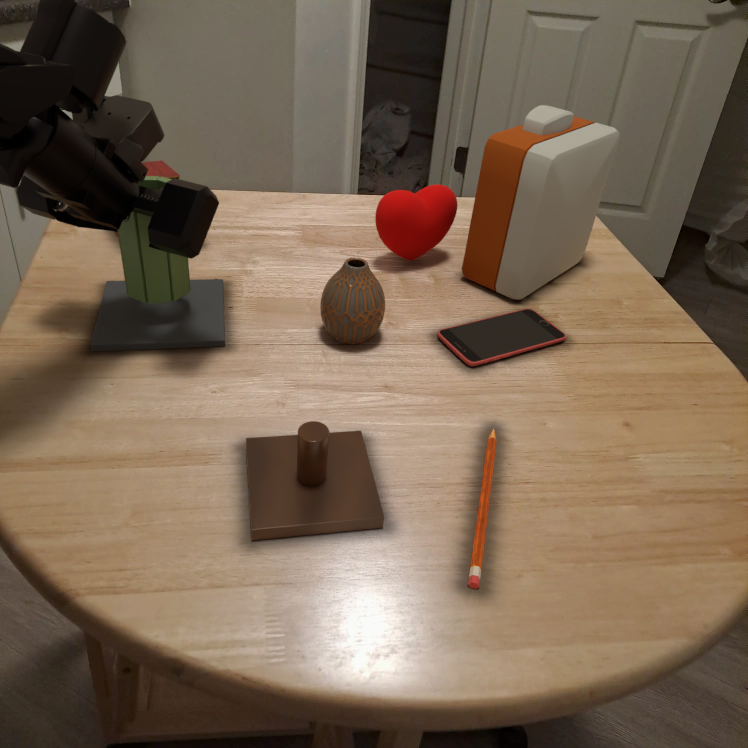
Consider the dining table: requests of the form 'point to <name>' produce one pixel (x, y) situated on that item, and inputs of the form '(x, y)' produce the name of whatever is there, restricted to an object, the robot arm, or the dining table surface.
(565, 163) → the alarm clock
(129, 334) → the grey pad
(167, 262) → the green octagonal pen cup
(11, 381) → the dining table surface
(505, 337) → the smartphone
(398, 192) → the heart
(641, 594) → the dining table surface
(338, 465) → the peg stand
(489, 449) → the pencil
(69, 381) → the dining table surface
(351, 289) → the vase
